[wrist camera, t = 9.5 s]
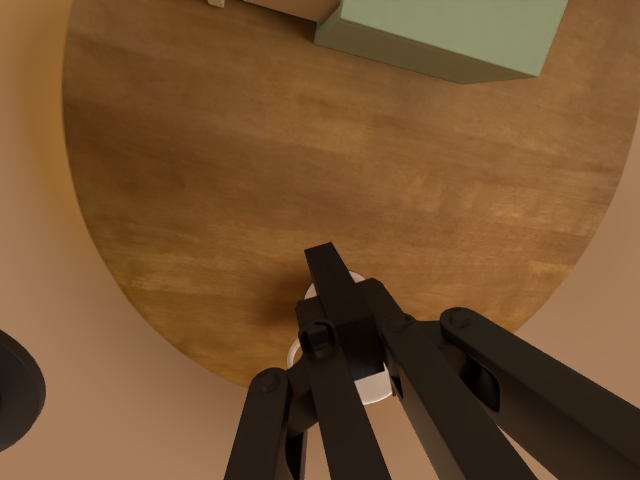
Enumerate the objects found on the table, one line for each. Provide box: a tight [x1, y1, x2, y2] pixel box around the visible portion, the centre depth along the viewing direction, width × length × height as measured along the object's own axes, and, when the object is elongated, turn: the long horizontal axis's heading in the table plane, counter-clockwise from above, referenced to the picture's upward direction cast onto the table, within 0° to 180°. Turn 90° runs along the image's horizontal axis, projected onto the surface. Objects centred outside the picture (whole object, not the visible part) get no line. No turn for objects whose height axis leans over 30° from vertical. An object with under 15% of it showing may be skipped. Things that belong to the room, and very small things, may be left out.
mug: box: [287, 271, 392, 405], centre depth 35 cm, size 12×8×12 cm
